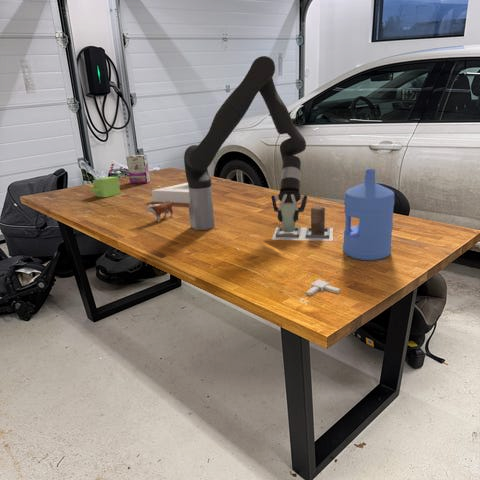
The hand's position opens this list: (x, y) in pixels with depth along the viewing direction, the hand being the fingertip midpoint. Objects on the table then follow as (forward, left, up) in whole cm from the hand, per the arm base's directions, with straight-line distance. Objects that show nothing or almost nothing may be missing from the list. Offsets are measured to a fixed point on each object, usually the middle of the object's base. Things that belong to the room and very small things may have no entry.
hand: (287, 220), depth 168 cm
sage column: (+1, +1, -4) cm, 5 cm away
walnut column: (+10, -6, -6) cm, 12 cm away
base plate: (+5, -2, -7) cm, 9 cm away
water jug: (+13, -28, -7) cm, 31 cm away
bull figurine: (-32, +52, -7) cm, 62 cm away
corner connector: (-17, -42, -7) cm, 46 cm away
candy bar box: (-18, +131, -7) cm, 133 cm away
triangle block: (-6, +82, -7) cm, 82 cm away
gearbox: (-41, +115, -7) cm, 122 cm away
